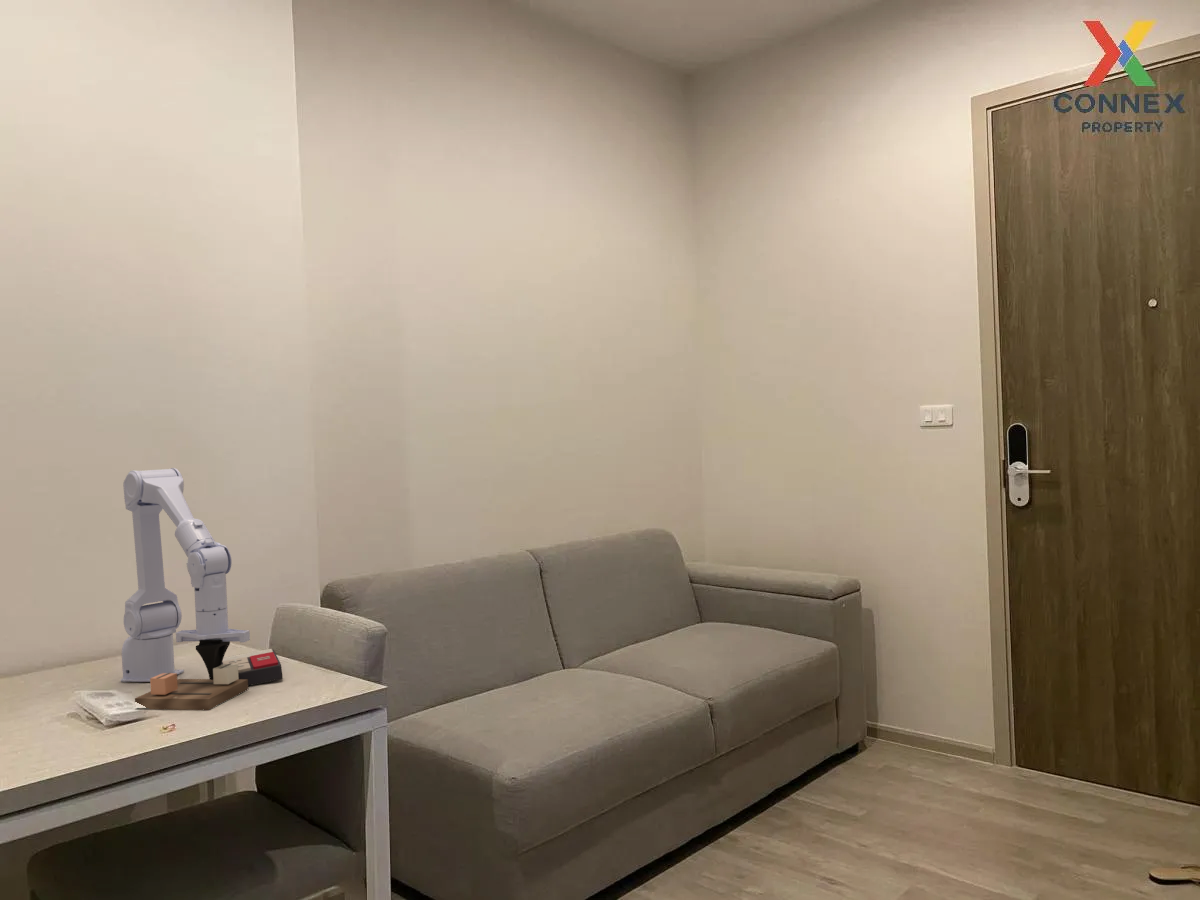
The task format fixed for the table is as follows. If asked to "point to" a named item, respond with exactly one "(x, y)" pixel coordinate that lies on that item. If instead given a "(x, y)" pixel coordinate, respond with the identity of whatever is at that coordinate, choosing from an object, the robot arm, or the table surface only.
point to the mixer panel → (193, 695)
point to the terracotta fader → (164, 683)
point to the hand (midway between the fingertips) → (214, 678)
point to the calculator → (257, 666)
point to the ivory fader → (225, 673)
